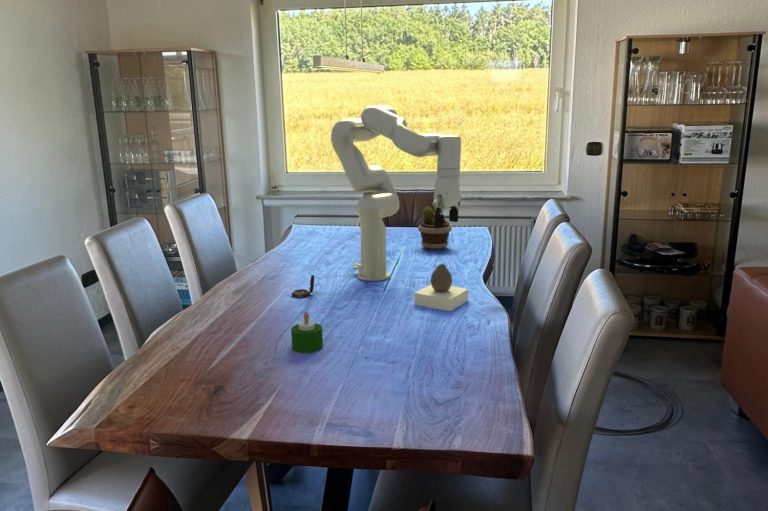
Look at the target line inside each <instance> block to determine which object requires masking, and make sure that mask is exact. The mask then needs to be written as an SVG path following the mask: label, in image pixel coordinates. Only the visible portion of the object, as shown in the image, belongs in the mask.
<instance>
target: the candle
mask: <svg viewBox="0 0 768 511" xmlns="http://www.w3.org/2000/svg"><path fill="white" fill-rule="evenodd" d="M309 318H310V315H309V313H308V312H307V311H306V312H305V311H304V314H303V321H299V322H298V323H297V324H294V325H293V326H292V327H291V330H290V331H291V332H290V333H291V334H290V335H291V336H290V337H291V349H292V350H293V351H294V353H295V352H296V353H299V354H300V353H302V354H310V353H311V354H312V353H316V352H320V350H322V349H323V347H324V346H323V345H324V344H323V342H324V341H323V326H322V325H321V324H319V323H315V321H313V320H309Z"/></svg>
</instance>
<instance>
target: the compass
mask: <svg viewBox="0 0 768 511" xmlns="http://www.w3.org/2000/svg"><path fill="white" fill-rule="evenodd" d="M309 281H310V282H309V290H307V289H301V288H300V289H296V290H293V292H292V293H291V296H292V297H294V298H297V299H298V298H306V297H310V295H311V294H312V293H313V292H314V286H315V274H310V280H309Z"/></svg>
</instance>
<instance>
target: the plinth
mask: <svg viewBox="0 0 768 511" xmlns="http://www.w3.org/2000/svg"><path fill="white" fill-rule="evenodd" d="M413 299H414V305H415V306H419V307H426V308H430V309H435V310H441V311H446V312H451V311H454V310H455V309H457V308H459V307H460V306H462V305H464V304H465V303H466V302H468V301H469V288H464V287H459V286H453V285H451V287H450V289H449V290H448V291H447V292H436V291H435V290H434V289H433V288H432V285H431V284H429V285H427V286H425V287H423V288H422V289H419V290H418V291H415V292H414V298H413Z"/></svg>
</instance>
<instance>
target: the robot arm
mask: <svg viewBox="0 0 768 511" xmlns="http://www.w3.org/2000/svg"><path fill="white" fill-rule="evenodd" d="M397 112H398V111H397V110H395V108H393V107H392V106H390V105H386V104H385V105H384V104H382V105H378V104H377V105H369V106H367V107H365V108H364V109H363V110H362V112H361V114H360V117H359V118H354V117H353V118H344V119H340V120H338V121H337V122H336V123H335V124H334V125H333V127H332V129H331V134H330V141H331V145H332V148H333V150H334V153H335V154H336V156H337V157H338V159H339V161H340V163H341V165H342V168H343V171H344V173H345V176H346V177H347V179H348V181H349V184H350V186H351V188H352V189H353V191H354V192H356V193H360V194H361V193H362V194H363V193H368V194H365V195H363V196H362V197H361V198H360V199H359V200H358V202H357V215H358V219H359V227H360V228H359V231H360V263H357V262H356V263H354V265H353V270H357V271H358V273H356V277H357V278H358V280H361V281H366V282H367V281H368V282H381V281H385V280H388V279H390V278H391V275H392V274H391V272H389V271H387V228H386V225H385V223H384V220H383V218H386V217H387V218H388V217H390V216H391V217H392V216H393V215H395V214H397V212H398V211H399V209H400V199H399V196H398V194H397V191H396V189H395V186H394V185H393V183H392V180H391V178H390V176H389V174H388V172H387V171H386V170H385V169H384V168H383V167H382V166H380V165H377V164H375V165H369V164H368V163H367V162H366V160H365V156H364V155H363V153H362V152H361V150H360V149H359V148H358V147H357V146H356V145H355V144H354V143H356V142H357V143H358V142H368V141H371V140H374V139H375V138H377V137H379V136H383V137H384V138H386V139H388V140H391V142H392V143H393V144H394V145H395V147H396V148H397V149H399V150H401V151H402V152H404V153H406V154H409V155H410V156H413V157H417V158H423V157H424V158H425V157H434V156H435V157H436V156H437V161H436V165H437V166H436V179H435V183H434V189H433V190H434V192H433V201H432V203H431V204H432V210H433V212H434V214H435V215H434V217H435V218H434V219H435V223H434V225H435V226H440V227H443V226H444V218H445V214H444V212H445V210H446V209H448V208H449V211H448V214H449V215H448V222H452V223H453V222H454V223H458V222H459V210H460V205H461V200H462V196H461V195H460V174H461V172H460V171H461V155H462V154H461V150H462V139H461V138H462V137H461V136H460V135H457V134H443V133H437V132H428V133H427V132H425V133H418V132H415V131H413V130H411V129H409V128H407V120H406V119H405V118H404V117H402V116H399V115H398V113H397ZM370 192H372V193H370Z"/></svg>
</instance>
